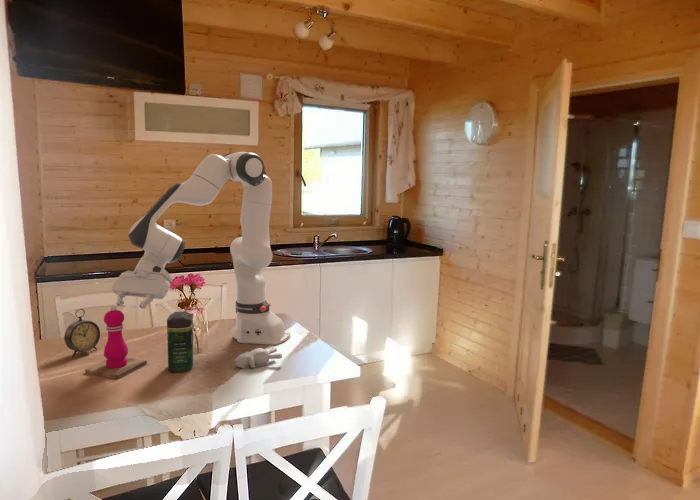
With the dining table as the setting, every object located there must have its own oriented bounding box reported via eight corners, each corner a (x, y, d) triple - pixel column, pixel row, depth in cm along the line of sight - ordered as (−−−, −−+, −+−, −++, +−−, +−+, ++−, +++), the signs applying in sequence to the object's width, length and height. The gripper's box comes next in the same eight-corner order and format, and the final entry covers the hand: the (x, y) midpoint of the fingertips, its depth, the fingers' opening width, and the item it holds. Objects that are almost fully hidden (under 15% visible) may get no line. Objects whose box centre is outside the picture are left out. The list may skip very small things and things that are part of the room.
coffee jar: (192, 372, 165) (190, 317, 162) (166, 374, 163) (164, 318, 160) (194, 361, 174) (193, 308, 171) (170, 362, 172) (168, 310, 169)
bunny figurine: (232, 351, 173) (274, 341, 179) (234, 365, 174) (275, 354, 180) (238, 361, 165) (282, 350, 171) (240, 376, 166) (284, 364, 172)
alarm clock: (71, 359, 174) (68, 313, 171) (63, 356, 176) (59, 310, 174) (102, 350, 183) (99, 306, 180) (93, 347, 186) (90, 304, 183)
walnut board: (146, 363, 171) (146, 360, 171) (118, 378, 159) (118, 375, 159) (115, 358, 175) (115, 355, 175) (85, 373, 163) (85, 369, 162)
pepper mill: (122, 369, 163) (119, 309, 160) (100, 368, 163) (96, 308, 160) (132, 360, 170) (129, 303, 167) (111, 360, 170) (107, 302, 167)
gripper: (118, 265, 179) (99, 299, 171) (168, 269, 173) (150, 304, 165) (128, 275, 184) (110, 308, 176) (176, 279, 177) (160, 313, 170)
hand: (130, 306), depth 170 cm, fingers open, 8 cm apart
